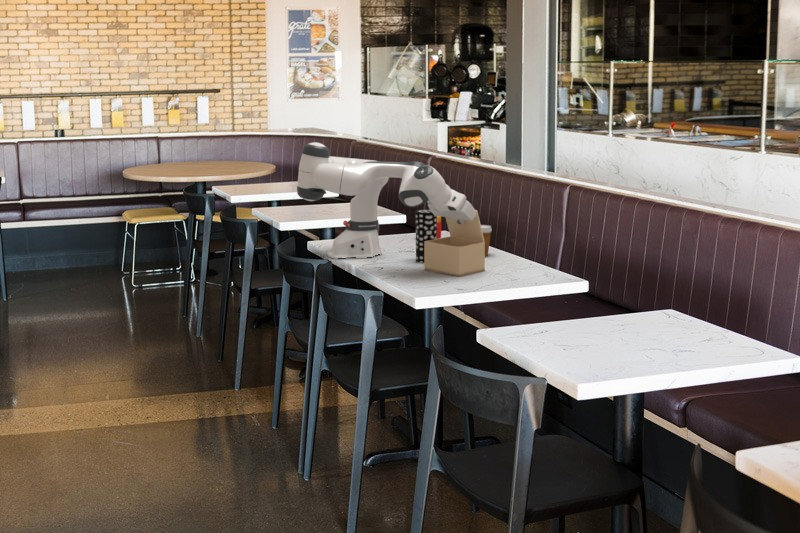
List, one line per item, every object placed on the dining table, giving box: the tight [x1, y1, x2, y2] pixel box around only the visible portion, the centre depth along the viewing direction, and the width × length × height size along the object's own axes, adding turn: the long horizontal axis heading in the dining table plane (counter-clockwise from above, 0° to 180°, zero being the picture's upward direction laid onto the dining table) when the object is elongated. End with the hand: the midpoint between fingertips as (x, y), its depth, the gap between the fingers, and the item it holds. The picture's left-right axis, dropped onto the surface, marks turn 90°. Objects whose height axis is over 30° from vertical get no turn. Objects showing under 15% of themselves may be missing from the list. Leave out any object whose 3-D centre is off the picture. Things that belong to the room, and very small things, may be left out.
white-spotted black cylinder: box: [415, 209, 437, 264], centre depth 383 cm, size 8×8×20 cm
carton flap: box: [445, 209, 484, 242], centre depth 368 cm, size 13×17×1 cm
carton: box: [423, 236, 486, 278], centre depth 366 cm, size 14×18×11 cm
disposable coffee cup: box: [481, 224, 493, 258], centre depth 394 cm, size 10×10×12 cm
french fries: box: [437, 216, 442, 239], centre depth 423 cm, size 9×4×13 cm, turn 27°
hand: (461, 222), depth 367 cm, fingers closed, pressing on carton flap
